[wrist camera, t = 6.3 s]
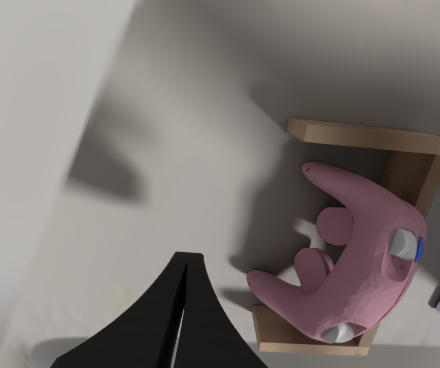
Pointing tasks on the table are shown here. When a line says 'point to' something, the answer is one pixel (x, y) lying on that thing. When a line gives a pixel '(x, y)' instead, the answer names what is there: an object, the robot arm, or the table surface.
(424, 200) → the docking cradle
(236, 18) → the table surface
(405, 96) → the table surface
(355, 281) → the video game controller
